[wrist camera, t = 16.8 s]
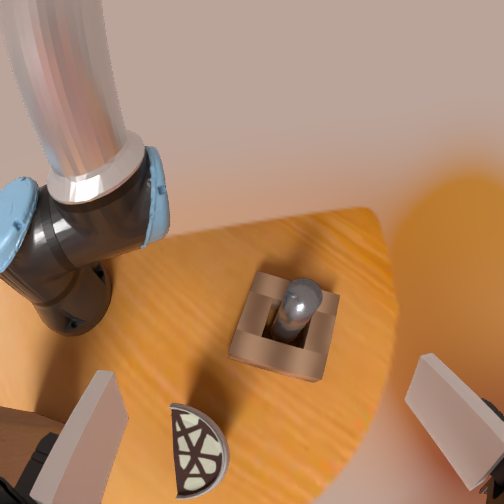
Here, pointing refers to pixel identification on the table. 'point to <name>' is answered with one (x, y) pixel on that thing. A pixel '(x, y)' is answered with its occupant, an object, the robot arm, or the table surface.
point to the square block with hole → (275, 353)
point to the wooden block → (21, 439)
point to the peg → (296, 309)
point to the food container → (197, 451)
